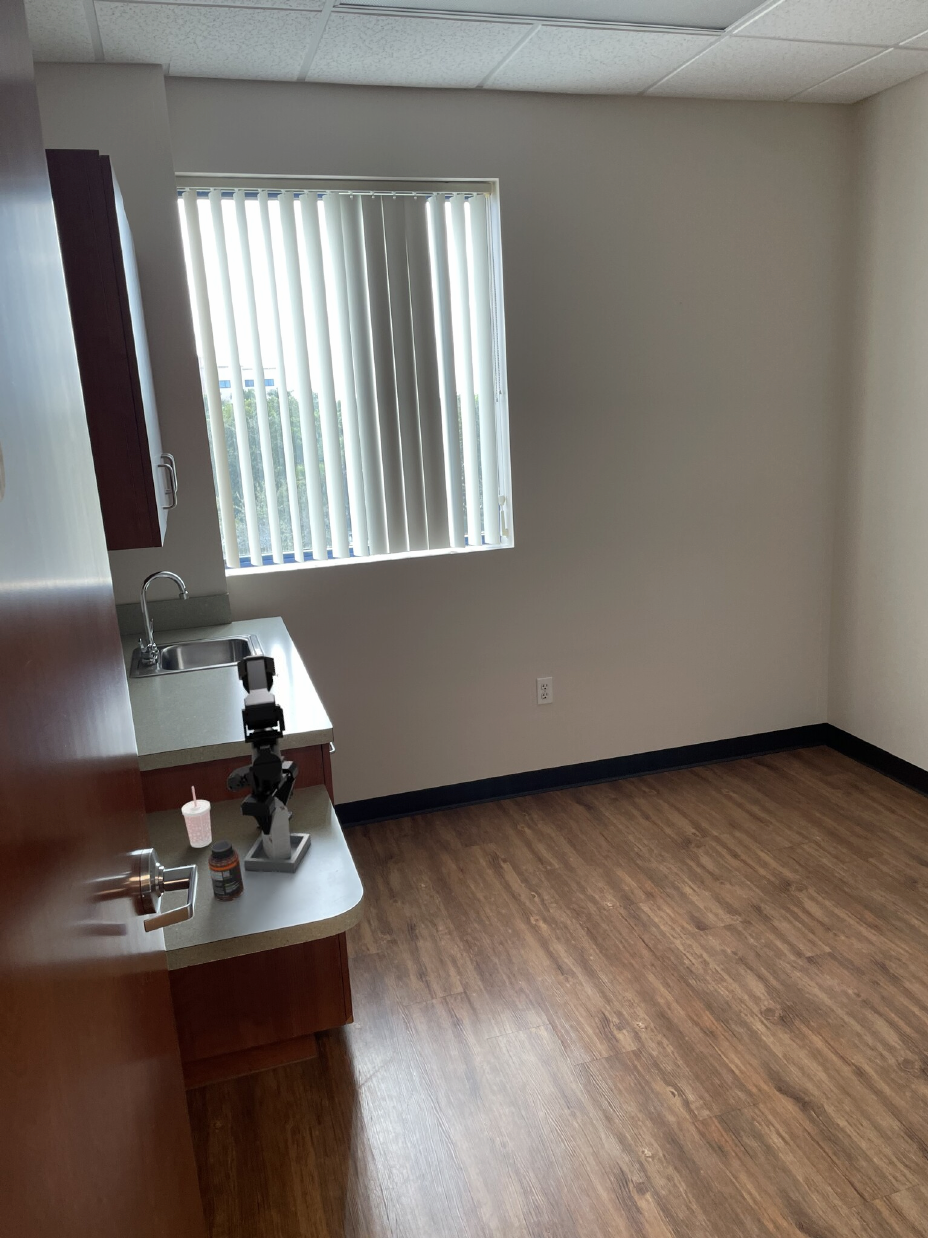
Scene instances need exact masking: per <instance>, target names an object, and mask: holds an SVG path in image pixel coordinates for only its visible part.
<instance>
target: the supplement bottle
mask: <svg viewBox="0 0 928 1238" xmlns="http://www.w3.org/2000/svg"><path fill="white" fill-rule="evenodd" d="M210 849H211V853H210V855H209V857H208V860H207V861H208V867H209V874H210V881H211V886H212V893H213V895H214V898H215V899H216V900H218V901H223V902H226V901H227V902H229V901H232V900H234V899H236V898H238V897H240V896H241V894H242V893H243V892H244V883H243V876H242V869H241V868H242V867H241V863H240V862H241V861H240V856H239V853H238V851H237V850H236V849H234V848H233V845H232V842H231V841H230V840H227V839H222V840H218V841H216V842H214V843H213V844H212V845H211V847H210Z"/></svg>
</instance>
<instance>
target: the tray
mask: <svg viewBox="0 0 928 1238" xmlns="http://www.w3.org/2000/svg"><path fill="white" fill-rule="evenodd" d="M289 834H290V847H291V857H289V858H287V859H284V860H281V859H269V857H268V856H267V855H266V853H265V852H264V848H263V837H262V833H261V834H260V835H259V836H258V838H257V840H256V841H255V843H254V844H253V846H252V847H251V849H250V850H249V852H248V853H247V854H246V857H245V858H244V860H243V863H244V864H243V865H244V871H247V872H265V873H284V874H296V872H297V870H298V869H299V867H300V865H301V864H302V861H303V860H304V857H305V856H306V853H307V852H308V850H309V848H310V846H311V845H312V842H311V841H312V840H311V839H312V838H311V833H299V832H297V833H294V832H289Z"/></svg>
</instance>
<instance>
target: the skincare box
mask: <svg viewBox="0 0 928 1238" xmlns="http://www.w3.org/2000/svg"><path fill="white" fill-rule="evenodd" d="M275 802H276V803H275V807H276V811H275V815H274V819H273V824H272V828H271V831H270V834H269V835H264V833H263V831H262V830H261V834H262V837H263V848H264V852H265V853H266V855H267V856H268V857H269V859H281V860H284V859H287V858H289V857H291V847H290V834H289V833H290V825H289V824H290V822H289V821H290V820H288V812H289V810H288V807H287V806H286V807H285V806H284V805H283V803H282V802H281V801H280V800H279V799H278V798H277V797H275Z"/></svg>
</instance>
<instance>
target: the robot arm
mask: <svg viewBox="0 0 928 1238" xmlns="http://www.w3.org/2000/svg"><path fill="white" fill-rule="evenodd" d="M236 666H237V667H236V668H237V677H238V680H239V681H242V687H243V690H244V691H246V693H247V694H248V695H246V697H244V699H243V701H244V704H243V705H244V708H241V719H242V727H243V736H244V743H245V744H250V750H251V763H252V764H247V765H245V766H242V767H238V768H236V769H234V770H233V771H232V772H231V774H230V775H229V776H228V777H227V779H226V788H227V789H229V791H231V792H234V793H235V792H239V790H243V789H246V788H249V789H250V790H251V793H249V794H248V795H247V796H246V797H245V799H244V800H243V801H242V802H241V804H240V805H239V808H240V814H241V815H242V816H248V817H253V818H254V820H255V821H256V822H257V824H256V826H257V828H260V829H261V832H262V831H263V833H264V835H269V834H270V831H271V828H272V824H273V819H274V815H275V811H276V807H275V803H276V802H275V797H277V798H278V799H279V800H280V801H281V802H282V803H283V805H284V806H285V807H286V808H287V805H288V803H289V800H291V797H292V796H293V795H294V790H293V787H294V785H295V782H296V780H297V775H298V774H299V768H298V767H299V766H298V764H297V763H296V762H294V761H290V760H289V761H287V760H285V756H282V754H281V747H280V739H283V738H284V732H285V731H286V723H285V717H284V709H283V708H282V707H281V704H279V703H277V702H276V697H275V694H274V693H272V692H271V691H272V689H273V685H274V677H275V676H277V674H276V673H277V672H276V665H275V659H274V657H270V656H267V655H266V654H263V653H262V654H253V655H247V656H246V657H243V659H241V660H240V661H238V662H236ZM276 727H277V728H276ZM278 727H279V729H278ZM248 731H252V732H249V733H248ZM292 816H293V812H292V811H288V821H290V819H291V817H292Z"/></svg>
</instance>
